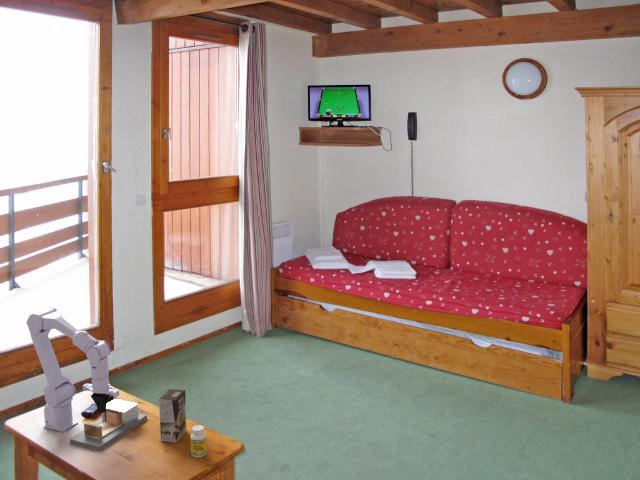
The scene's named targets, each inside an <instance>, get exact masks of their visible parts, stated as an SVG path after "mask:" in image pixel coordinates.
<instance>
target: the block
mask: <svg viewBox="0 0 640 480" xmlns="http://www.w3.org/2000/svg"><path fill="white" fill-rule="evenodd" d="M106 420H107V423H110V424H114V425H117V424H119V423H121V422H122V413H119V412H115V411H108V412H106Z"/></svg>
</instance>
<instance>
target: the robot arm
mask: <svg viewBox="0 0 640 480" xmlns="http://www.w3.org/2000/svg"><path fill="white" fill-rule="evenodd" d="M26 326H27V328H28V330H29V331H28V332H29V335H30V338H31V340H32V344H33V346H34V349H35V352H36V354H37V357H38V360H39V362H40V366H41V367H42V370H43V373H44V375H45V379H46V383H45V384H44V387H43V392H44V400H45V403H46V404H45V405H44V408H43V416H44V417H43V418H44V425H43V426H42V427H43V428H45V429H50V430H53V431H58V432H61V433H64V432H65V431H67V430H69V429H71V428H72V427H74V426H75V425H77V424H78V423H79V421H76V420H73V419H74V418H73V406H72V404H73V403H72V401H73V400H74V399H73V397H74V396H75V395H76V387H75V386H74V384H73V383H72V381H71V380H70V377H68V376H65V375H63V373H62V369H61V367H60V364H59V362H58V359H57V356H56V354H55V351H54V348H53V345H52V343H51V340H50V338H49V335H50V332H51V330H53V329H54V330H57V331H58V332H59V333H62V334H63V335H65V336H66V337H68V338H69V339H71V341H72V344H73V345H74V346H75V347H77V348H78V349H79V350H81V351H82V352H84V354H85V355H86V358H87V359H88V361H89V365H90V373H91V383H84V384H83V385H82V390H83V391H84V392H85V391H89V392H91V393H92V394H91V395H90V397H91V399H92V400H93V403H94V404H95V405H96V408H97V411H98V413H99V414H102V413H103V412H105V411H106V406H107V403H109V399H110V397H111V396H112V397H114V398H118V397H119V396H120V390H119V389H116V388H115V387H112V386H111V383H110V380H109V379H110V378H109V373H110V372H109V358H108V356H110V354H111V352H112V348H111V345H110V344H109V343H108V342H107V341H106V340H100V339H96V338H95V337H94V336H92V335H91V334H89V332H88V331H86V330H78V329H77V328H76V327H75V326H73V325H72V323H70V322H68V321H67V319H65V318H64V317H63V316H62V313H61V311H59V310H58V309H57V308H55V307H53V306H50V307H48V308H46V309H43V310H40V311H37V312H36V313H31V314H30V315H29V316H28V317H27V320H26Z"/></svg>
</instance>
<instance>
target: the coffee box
mask: <svg viewBox="0 0 640 480" xmlns="http://www.w3.org/2000/svg"><path fill="white" fill-rule="evenodd" d="M158 404H159V428H160V429H159V431H160V433H159V435H160V437H159V438H160V442H167V443H178V441H180V439H181V438H182V437H183V436H184V435H185V434H186V432H187V408H186V404H187V403H186V390H185V389H174V388H172V389H171V388H169V389H167V391H165V393H164V394H162V395H161V397H160V398H159V403H158Z"/></svg>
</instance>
